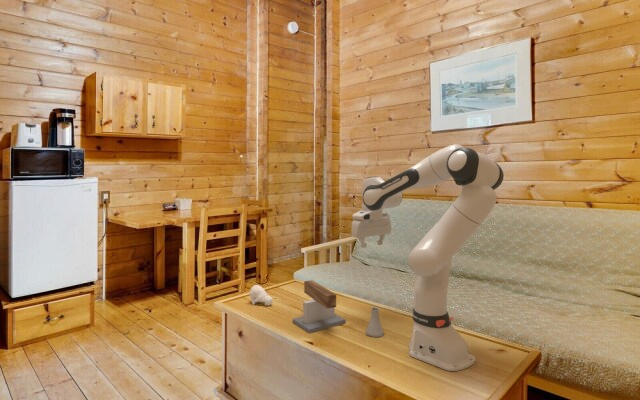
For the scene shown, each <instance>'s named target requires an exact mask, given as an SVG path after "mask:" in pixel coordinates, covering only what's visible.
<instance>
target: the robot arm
mask: <svg viewBox="0 0 640 400" xmlns="http://www.w3.org/2000/svg"><path fill="white" fill-rule="evenodd" d="M504 174H505V173H504V171H503V169H502V167H501V166H500V165H499V164H498V163H497V162H495V161H493V160H492V159H490V158H489V157H488V156H487V155H485V154H483V153H482V152H478V151H477V150H474V149H472V148H470V147H465V146H463V145H461V144H458V143H454V144H451V145H447V146H445V147H443V148H441V149H438V150H436V151H435V152H433V153H432V154H430V155H428V156H427V157H425V158H424V159H422V160H420V161H419V162H417V163H416V164H413V166H410V167H409V168H407V169H406V170H404V171H403V172H400V173H398V174H397V175H395V176H393V177H391V178H388V179H387V180H384V179H383V178H382V177H381V176H369V177H366V178H364V179H363V181H362V186H361V200H362V205H361V209H360V210H359V211H357V212H355V213H353V214H352V216H351V217H352V219H353V220H352V222H351V236H352V238H355V239H358V241H359V243H360V247H361V248H367V242H365V241H364V240H365V238H369V237H374V236H375V237H376V236H379V239H378V240H377V241H376V242H377V245H378V246H383V243H384V242H383V241H384V240H385V238H386V237H385V235H389V234H391V233H392V222H391V216H390V214H389V213H387V212H384V213H383V210H384V209H392V208H395V207H399V206H400V205H401V203H402V202H403V197H404V196H403V192H404V191H407V190H410V189H411V190H412V189H417V188H418V189H419V188H420V189H421V188H430V187H434V186H438V185H441V184H442V183H444V182H446V181H449V180H450V179H452V180H454V183H455V184H456V186H461V192H460V194H459V196H458V197H457V198H456V199H455V200H454V201H453V203H452V204H450V207H449V208H447V210H446V211H445V212H444V214H443V215H442V216H441V217H440V219H439V220H438V221H437V222H436V223H435V224H434V226H432V227H431V229H429V230H428V232H427V233H426V234H425V235H424V236H423V237H422V239H420V241H419V242H418V243H417V244H416V245H415V246H414V247H413V249H412V250H411V252H410V253H409V255H408V259H407V260H408V261H407V264H408V266H409V268H410V271H412V273H414V274H415V275H417V277H416V282H415V284H414V298H413V308H412V320H413V322H412V323H413V325H412V331H411V332H412V333H411V338H410V342H409V345H408V349H409V354H408V355H409V357H412V358H414V359H416V360H420V361H422V362H425V363H427V364H430V365H432V366H434V367H438V368H440V369H443V370H444V371H448V372H457V371H462V370H464V369H467V368H469V367H471V366H473V365H474V364H475V362H476V357H475V356H474V355H473V354H471V353H469V350H468V344H467V341H466V339H464V338H463V337H462V335H461V334H460V333H459V332H458V331H457V330H456V328H455V326H453V325H452V322H451V321H454V316H451V317H450V315H449V312H448V287H449V280H450V275H451V266H452V258H453V257H454V256H455V255H456V253H457V252H458V251H460V249H461V248H462V247H463V246H464V244H466V243H467V241H468V240H469V239H470V238H471V237H472V236H473V235H474V233H475V232H476V231H477V230H478V229H479V227H480V226H481V225H482V224H483V223H484V221H486V219H487V217H488V216H489V214H490V213H491V212H492V210H493V209H494V207H495V206H496V203H497V200H498V195H497V193H496V191H495V190H496V189H498V188H499V187H500V185H502V183H503V181H504Z"/></svg>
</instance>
